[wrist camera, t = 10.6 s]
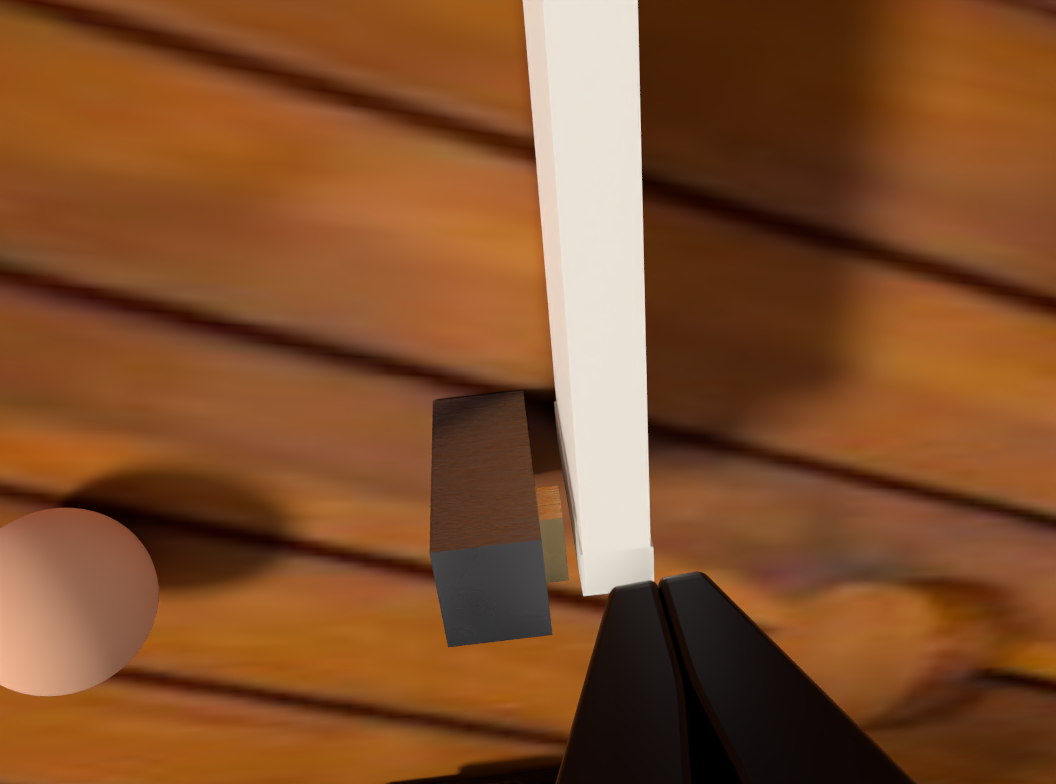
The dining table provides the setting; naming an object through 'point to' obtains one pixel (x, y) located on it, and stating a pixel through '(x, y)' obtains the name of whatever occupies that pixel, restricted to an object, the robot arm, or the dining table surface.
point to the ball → (71, 600)
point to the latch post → (491, 522)
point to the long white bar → (595, 274)
